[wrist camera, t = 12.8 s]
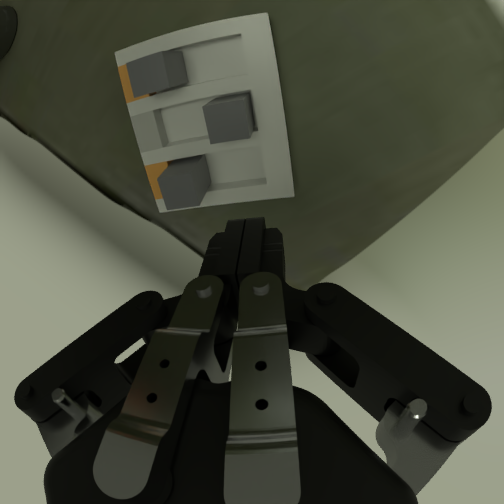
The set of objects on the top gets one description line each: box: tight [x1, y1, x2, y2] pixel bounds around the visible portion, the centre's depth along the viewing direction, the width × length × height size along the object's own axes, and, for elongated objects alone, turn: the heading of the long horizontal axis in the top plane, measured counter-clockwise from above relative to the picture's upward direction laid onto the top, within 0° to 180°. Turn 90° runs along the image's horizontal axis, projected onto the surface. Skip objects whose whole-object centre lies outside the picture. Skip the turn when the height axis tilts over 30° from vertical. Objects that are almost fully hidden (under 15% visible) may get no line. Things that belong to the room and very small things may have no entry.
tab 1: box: [126, 51, 189, 98], centre depth 24 cm, size 4×4×6 cm
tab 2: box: [157, 154, 211, 210], centre depth 31 cm, size 4×4×6 cm
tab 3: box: [202, 92, 255, 144], centre depth 27 cm, size 4×4×6 cm
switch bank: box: [115, 13, 295, 213], centre depth 29 cm, size 16×20×3 cm
